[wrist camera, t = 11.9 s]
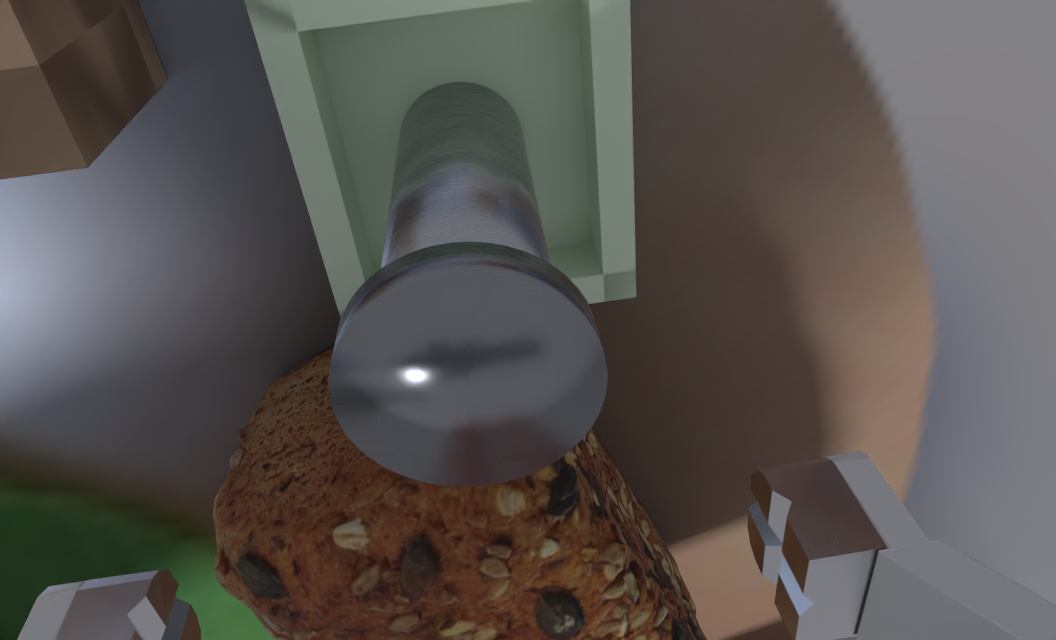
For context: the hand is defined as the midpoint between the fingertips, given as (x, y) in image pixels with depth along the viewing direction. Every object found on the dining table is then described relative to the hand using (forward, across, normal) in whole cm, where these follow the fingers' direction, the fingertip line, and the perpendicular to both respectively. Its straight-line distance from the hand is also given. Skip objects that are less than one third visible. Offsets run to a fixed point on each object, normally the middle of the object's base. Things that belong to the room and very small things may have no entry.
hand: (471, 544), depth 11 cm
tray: (+15, -1, 0) cm, 15 cm away
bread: (+15, 0, +14) cm, 21 cm away
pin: (+14, -1, 0) cm, 14 cm away
